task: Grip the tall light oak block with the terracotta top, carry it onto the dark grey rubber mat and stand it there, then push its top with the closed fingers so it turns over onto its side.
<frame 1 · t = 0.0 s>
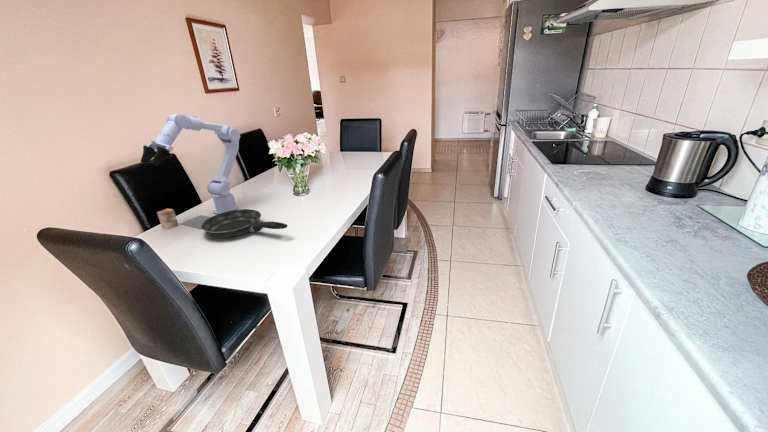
hand: (148, 163, 129), 32 cm above the table, fingers open, 7 cm apart
frying pan: (246, 231, 142), on the table
oak block: (170, 226, 149), on the table
grey rubber mat: (202, 222, 152), on the table
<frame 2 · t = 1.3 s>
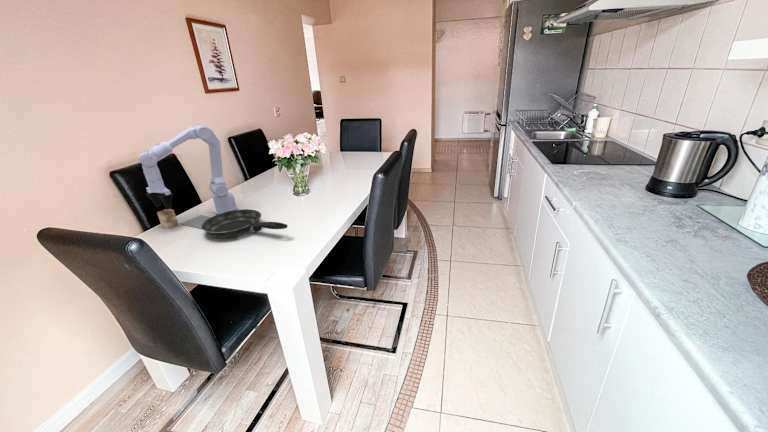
hand: (164, 207, 145), 10 cm above the table, fingers open, 7 cm apart
nothing on the table moved.
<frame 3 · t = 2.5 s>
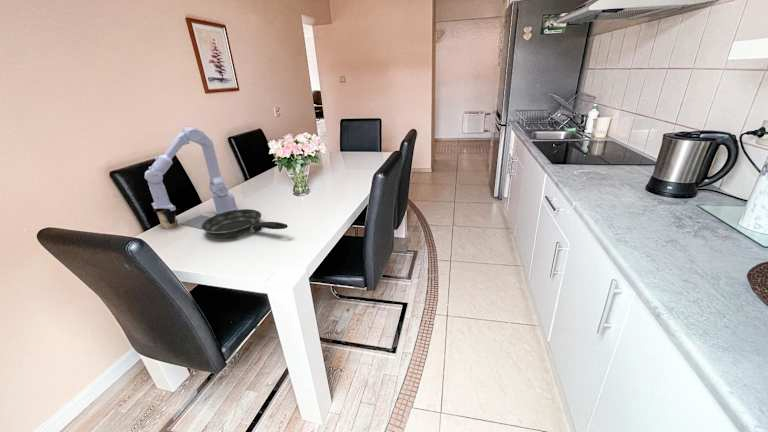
hand: (169, 222, 148), 2 cm above the table, fingers closed on oak block, 4 cm apart
oak block: (170, 226, 149), on the table, touching gripper
everything else where it was.
when the fingers open (3 cm above the table, at t = 6.3 s): oak block stays where it is, resting on grey rubber mat.
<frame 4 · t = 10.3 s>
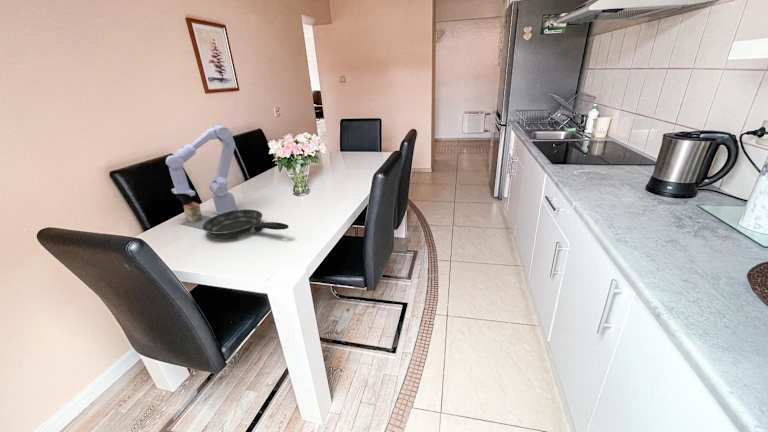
hand: (188, 207, 153), 6 cm above the table, fingers closed
oak block: (194, 219, 154), point 1 cm above the table, tilted 10°, touching grey rubber mat, gripper
everything else where it was.
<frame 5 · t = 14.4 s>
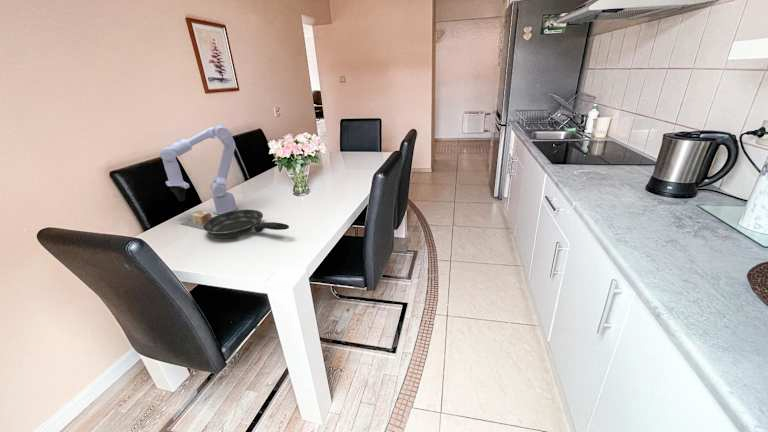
hand: (182, 200, 153), 10 cm above the table, fingers closed
oak block: (196, 216, 152), point 3 cm above the table, tilted 90°, touching grey rubber mat
at the end: oak block tilted 90°; oak block inside the target area (2.7 cm from its centre), point 2.5 cm above the table; the gripper is holding nothing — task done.
